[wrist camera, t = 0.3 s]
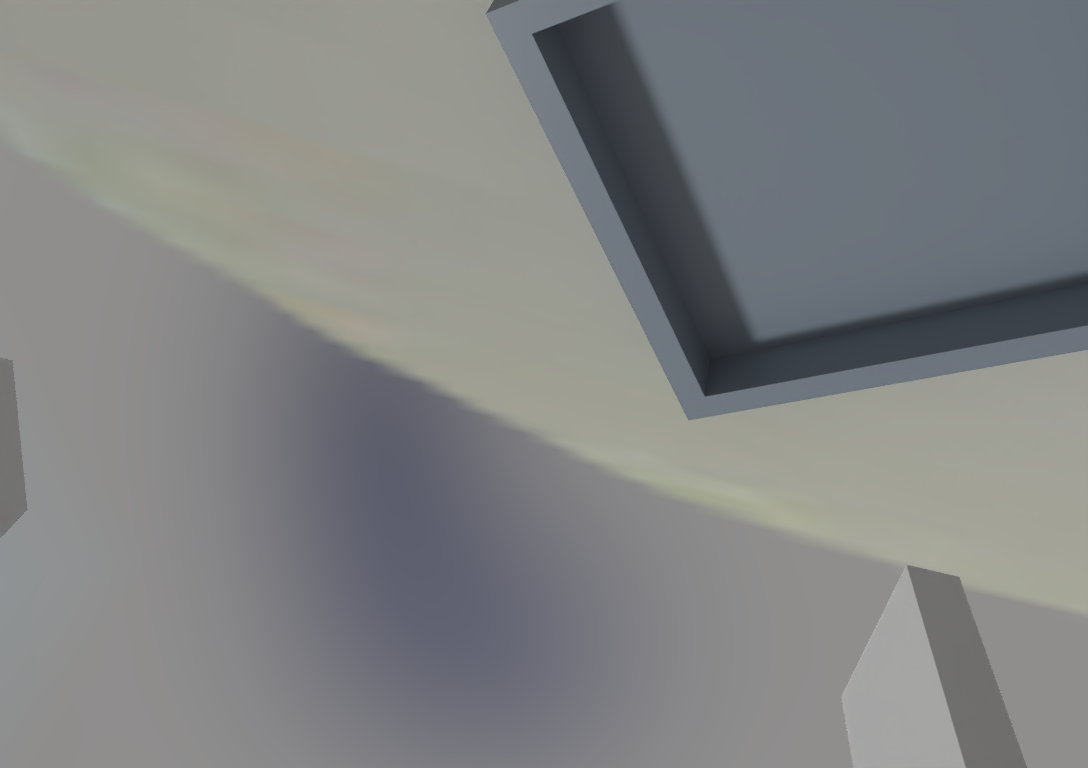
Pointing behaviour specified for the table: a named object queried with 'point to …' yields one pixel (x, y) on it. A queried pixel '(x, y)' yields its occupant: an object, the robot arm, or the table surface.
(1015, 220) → the tray
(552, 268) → the table surface
